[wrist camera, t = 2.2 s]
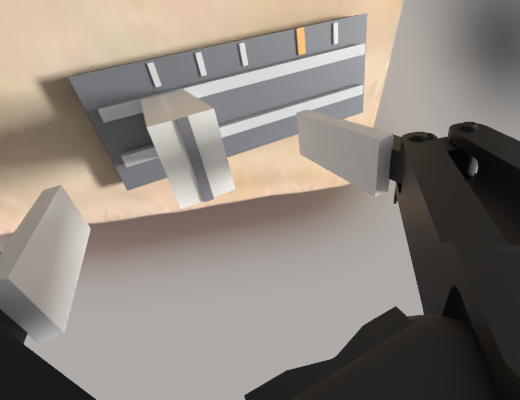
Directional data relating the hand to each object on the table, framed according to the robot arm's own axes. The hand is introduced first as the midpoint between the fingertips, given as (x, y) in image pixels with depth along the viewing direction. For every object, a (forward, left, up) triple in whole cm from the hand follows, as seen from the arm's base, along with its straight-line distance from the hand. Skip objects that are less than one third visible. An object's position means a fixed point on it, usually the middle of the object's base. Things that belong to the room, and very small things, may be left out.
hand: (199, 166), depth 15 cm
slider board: (0, +8, -14) cm, 16 cm away
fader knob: (0, 0, -11) cm, 11 cm away
